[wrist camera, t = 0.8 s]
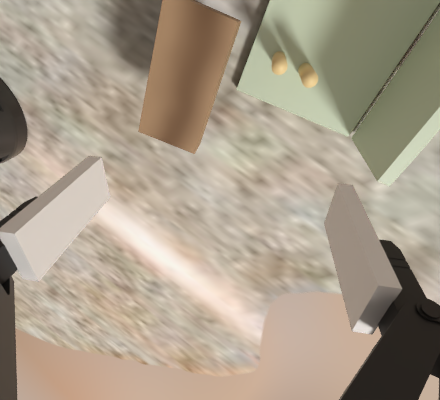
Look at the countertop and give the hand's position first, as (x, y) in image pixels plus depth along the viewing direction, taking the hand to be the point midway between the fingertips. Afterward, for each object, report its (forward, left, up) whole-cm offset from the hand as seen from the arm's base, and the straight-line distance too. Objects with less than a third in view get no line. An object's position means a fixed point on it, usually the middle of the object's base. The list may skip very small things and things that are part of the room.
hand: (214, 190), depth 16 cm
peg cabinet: (+6, +9, -20) cm, 23 cm away
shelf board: (-6, +1, -15) cm, 16 cm away
